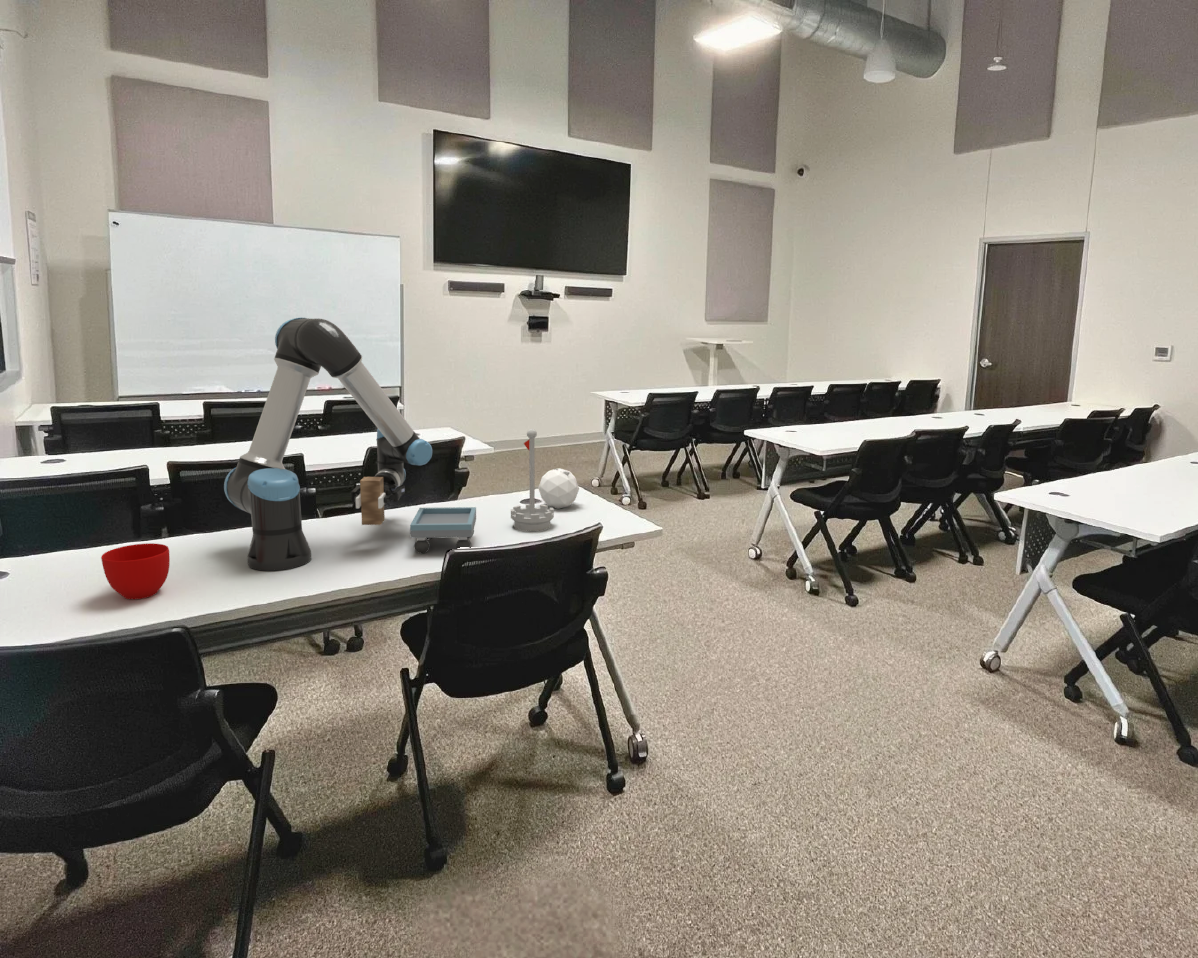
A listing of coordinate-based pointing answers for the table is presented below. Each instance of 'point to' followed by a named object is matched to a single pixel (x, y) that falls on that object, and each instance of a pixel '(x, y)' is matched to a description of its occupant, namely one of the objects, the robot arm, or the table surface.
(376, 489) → the walnut block
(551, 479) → the geodesic sphere
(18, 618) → the table surface
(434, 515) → the wheeled cart
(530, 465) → the flag stand
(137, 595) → the red bowl
